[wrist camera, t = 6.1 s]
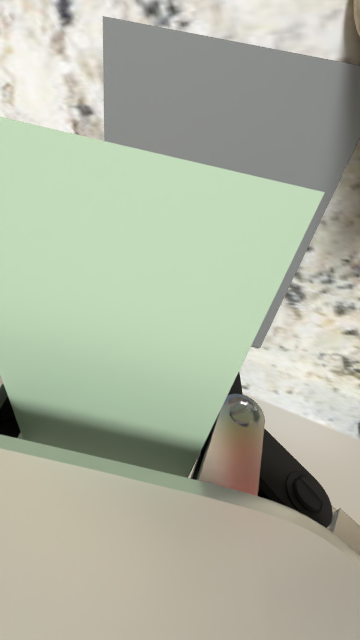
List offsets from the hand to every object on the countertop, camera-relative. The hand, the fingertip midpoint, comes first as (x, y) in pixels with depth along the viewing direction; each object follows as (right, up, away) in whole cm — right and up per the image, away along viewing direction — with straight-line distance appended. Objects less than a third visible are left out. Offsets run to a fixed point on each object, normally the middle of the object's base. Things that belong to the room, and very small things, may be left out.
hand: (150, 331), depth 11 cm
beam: (0, 0, +1) cm, 1 cm away
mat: (+4, +10, +14) cm, 18 cm away
